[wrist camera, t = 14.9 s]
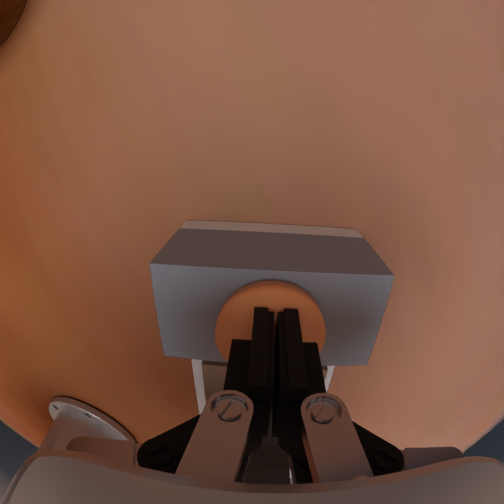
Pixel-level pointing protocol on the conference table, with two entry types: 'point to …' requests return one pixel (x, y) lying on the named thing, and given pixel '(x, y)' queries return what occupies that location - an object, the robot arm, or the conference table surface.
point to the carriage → (269, 454)
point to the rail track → (268, 269)
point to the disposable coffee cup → (9, 16)
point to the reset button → (275, 299)
